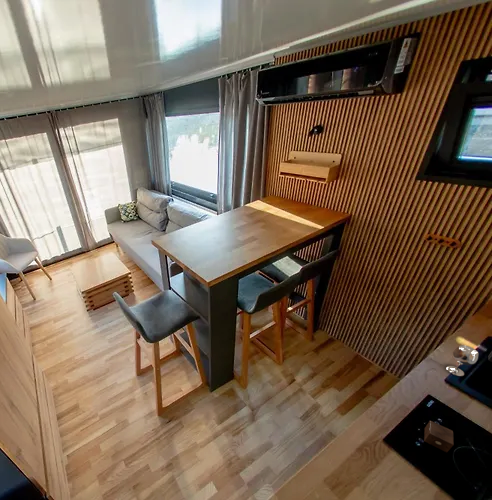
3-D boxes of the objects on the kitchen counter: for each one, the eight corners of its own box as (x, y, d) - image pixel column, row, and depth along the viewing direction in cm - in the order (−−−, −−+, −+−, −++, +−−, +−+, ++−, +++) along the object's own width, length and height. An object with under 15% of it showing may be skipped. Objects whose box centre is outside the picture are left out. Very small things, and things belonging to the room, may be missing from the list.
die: (453, 430, 80) (453, 444, 77) (446, 439, 82) (447, 453, 79) (430, 420, 83) (429, 433, 80) (424, 428, 86) (424, 441, 83)
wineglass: (444, 371, 100) (456, 351, 95) (444, 362, 104) (456, 341, 98) (466, 380, 96) (481, 359, 91) (466, 369, 100) (480, 349, 94)
